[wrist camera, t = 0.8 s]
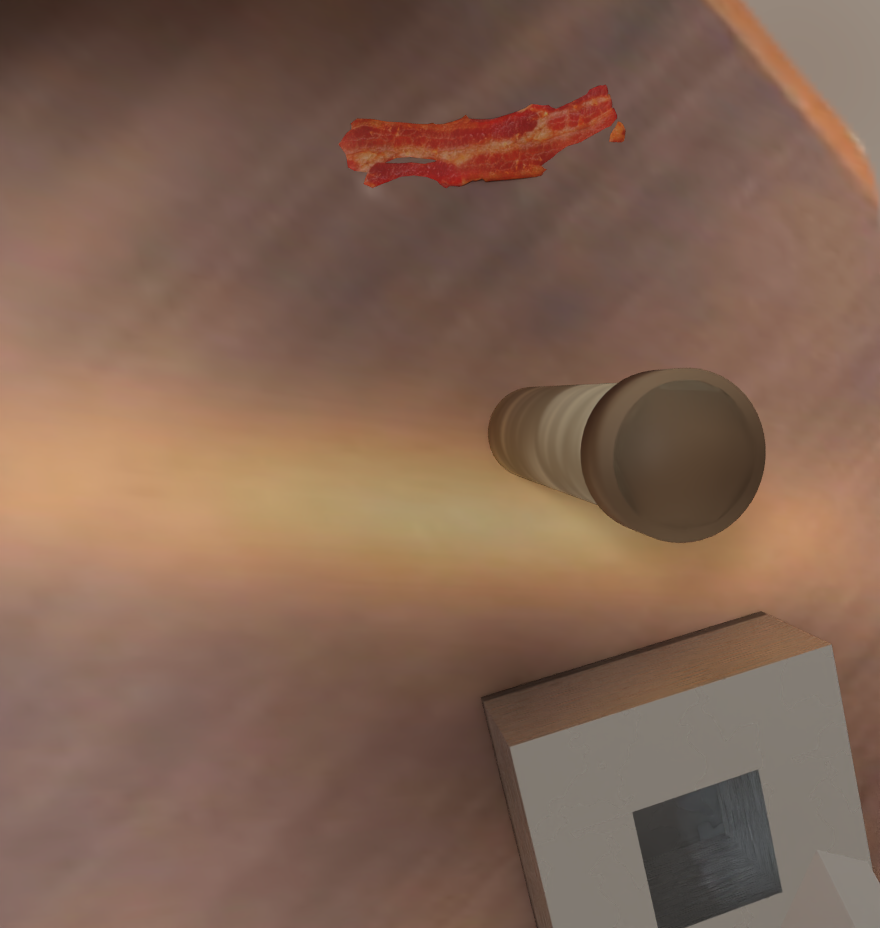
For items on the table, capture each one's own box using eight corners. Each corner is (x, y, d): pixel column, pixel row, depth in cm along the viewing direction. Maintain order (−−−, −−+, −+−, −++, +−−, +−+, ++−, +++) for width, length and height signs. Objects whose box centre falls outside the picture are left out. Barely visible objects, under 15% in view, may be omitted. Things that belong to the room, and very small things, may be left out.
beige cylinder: (470, 393, 33) (585, 391, 20) (569, 369, 34) (748, 349, 20) (494, 496, 34) (621, 562, 20) (591, 469, 35) (779, 517, 21)
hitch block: (481, 697, 35) (509, 747, 30) (761, 611, 37) (831, 644, 32) (548, 973, 36) (585, 1063, 31) (812, 876, 38) (886, 947, 33)
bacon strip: (627, 159, 34) (633, 155, 33) (292, 227, 32) (292, 224, 31) (610, 71, 34) (616, 65, 33) (269, 135, 31) (268, 129, 31)
